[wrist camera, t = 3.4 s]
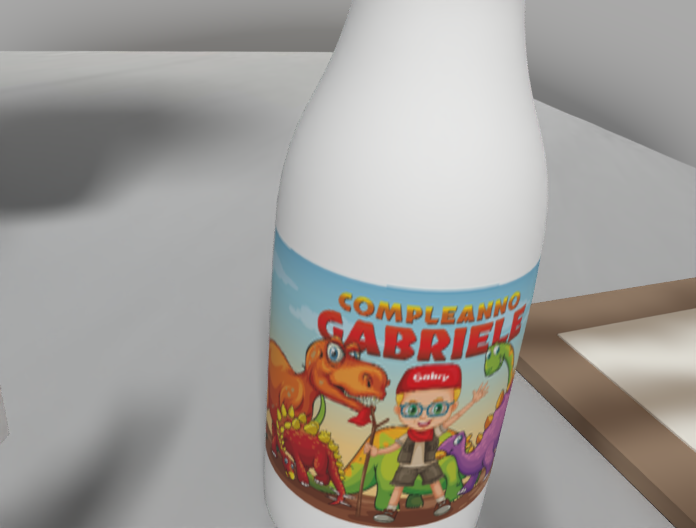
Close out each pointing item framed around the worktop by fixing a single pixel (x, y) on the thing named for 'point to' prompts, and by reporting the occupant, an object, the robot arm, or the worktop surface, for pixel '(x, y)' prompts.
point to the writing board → (625, 382)
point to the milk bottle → (403, 268)
